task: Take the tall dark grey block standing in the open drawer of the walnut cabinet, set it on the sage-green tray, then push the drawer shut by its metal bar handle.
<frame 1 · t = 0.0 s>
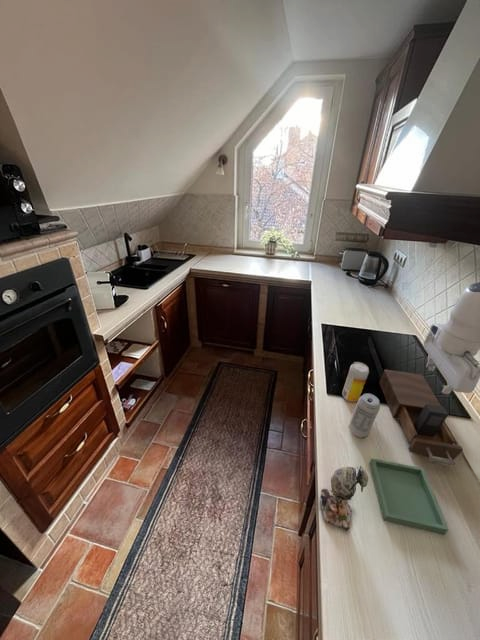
hand: (436, 380, 74), 22 cm above the worktop, tool pointing down, fingers open, 8 cm apart
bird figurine: (335, 504, 65), on the worktop
beer can: (349, 397, 97), on the worktop
drawer: (426, 432, 80), point 4 cm above the worktop, slide at 12.0 cm, touching dark grey block
tray: (402, 495, 67), on the worktop
energy drink can: (357, 431, 84), on the worktop
dark grey block: (422, 431, 82), point 2 cm above the worktop, touching drawer
cabinet: (404, 401, 95), on the worktop
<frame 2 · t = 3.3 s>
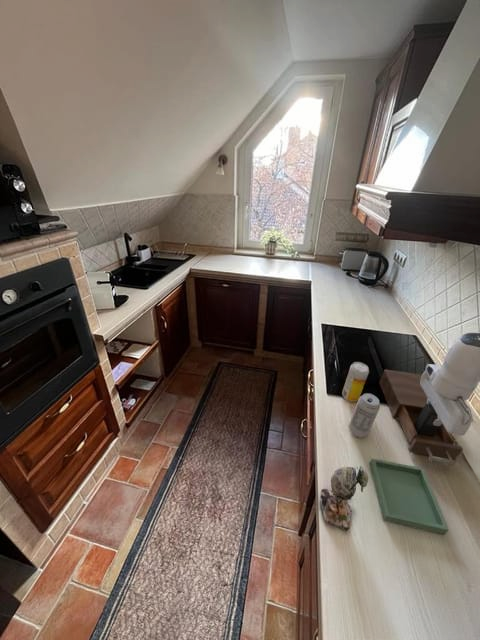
hand: (431, 417, 78), 9 cm above the worktop, tool pointing down, fingers closed on dark grey block, 3 cm apart
dark grey block: (422, 431, 82), point 2 cm above the worktop, touching drawer, gripper
everything else where it was.
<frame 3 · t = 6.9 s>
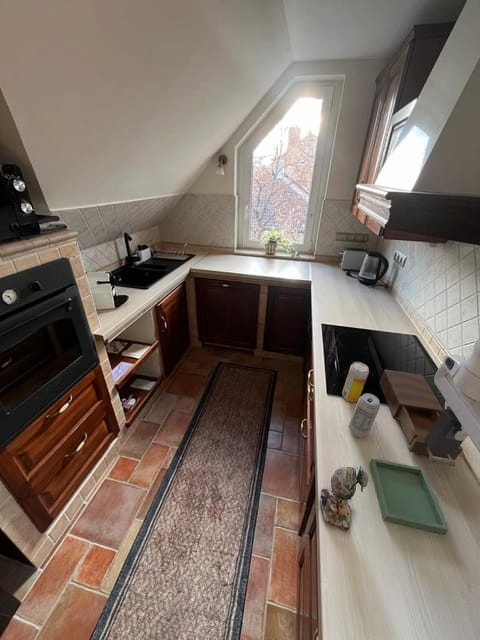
hand: (451, 428, 57), 25 cm above the worktop, tool pointing down, fingers closed on dark grey block, 3 cm apart
drawer: (426, 432, 80), point 4 cm above the worktop, slide at 12.0 cm
dark grey block: (438, 447, 60), point 18 cm above the worktop, touching gripper
everything else where it was.
when the fingers open (8 cm above the worktop, at t = 11.0 s): dark grey block stays where it is, resting on tray.
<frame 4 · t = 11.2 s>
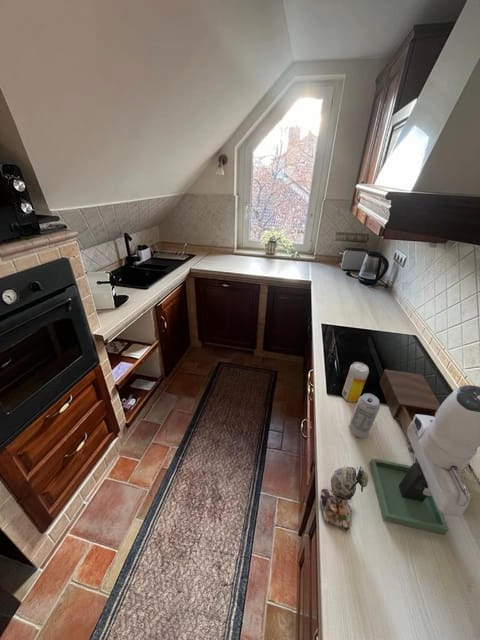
hand: (420, 480, 64), 7 cm above the worktop, tool pointing down, fingers open, 4 cm apart
dark grey block: (410, 493, 67), resting on tray
everything else where it was.
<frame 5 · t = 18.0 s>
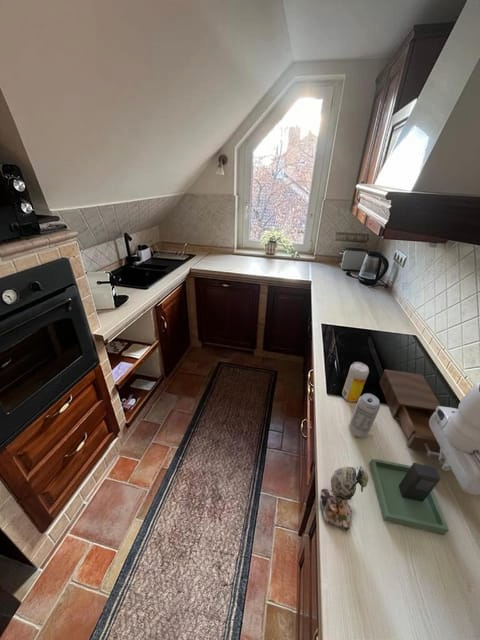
hand: (442, 465, 71), 4 cm above the worktop, tool pointing down, fingers closed
drawer: (424, 429, 81), point 4 cm above the worktop, slide at 10.7 cm, touching gripper
everything else where it was.
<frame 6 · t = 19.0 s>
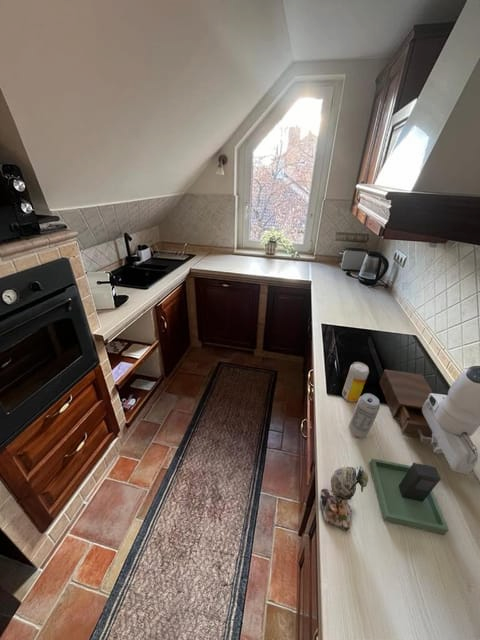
hand: (434, 449, 75), 4 cm above the worktop, tool pointing down, fingers closed
drawer: (418, 416, 85), point 4 cm above the worktop, slide at 5.7 cm, touching gripper
everything else where it was.
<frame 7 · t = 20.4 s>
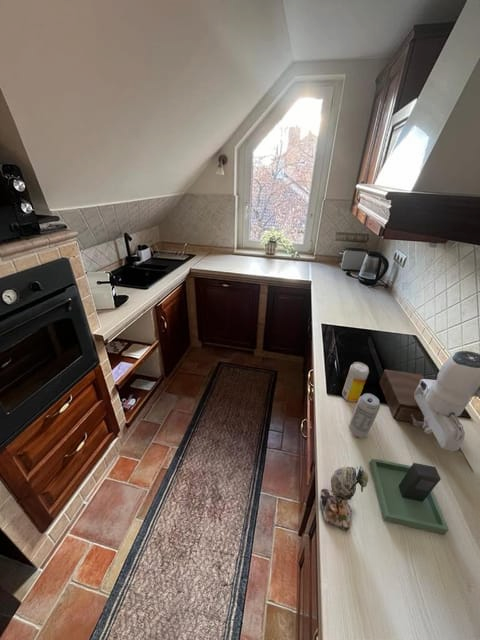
hand: (426, 431, 80), 4 cm above the worktop, tool pointing down, fingers closed
drawer: (412, 403, 90), point 4 cm above the worktop, slide at 0.0 cm, touching cabinet, gripper
everything else where it was.
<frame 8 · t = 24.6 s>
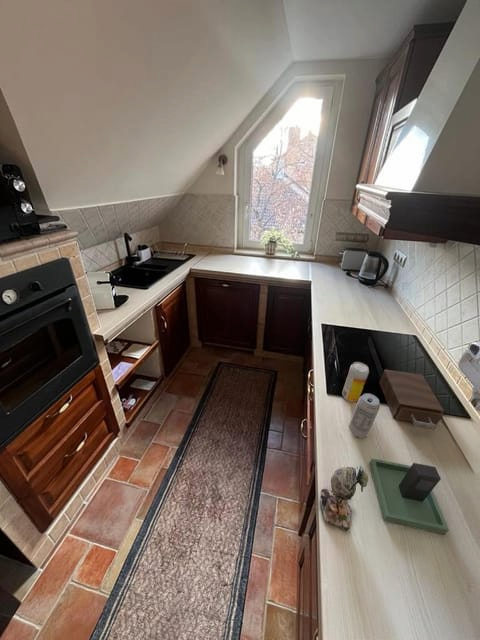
hand: (475, 406, 65), 23 cm above the worktop, tool pointing down, fingers closed
drawer: (412, 403, 90), point 4 cm above the worktop, slide at 0.0 cm
everything else where it was.
at the end: dark grey block inside the target area in the tray (2.0 cm from its centre), point 0.5 cm above the tray's base; the gripper is holding nothing; drawer slide at 0.0 cm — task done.
